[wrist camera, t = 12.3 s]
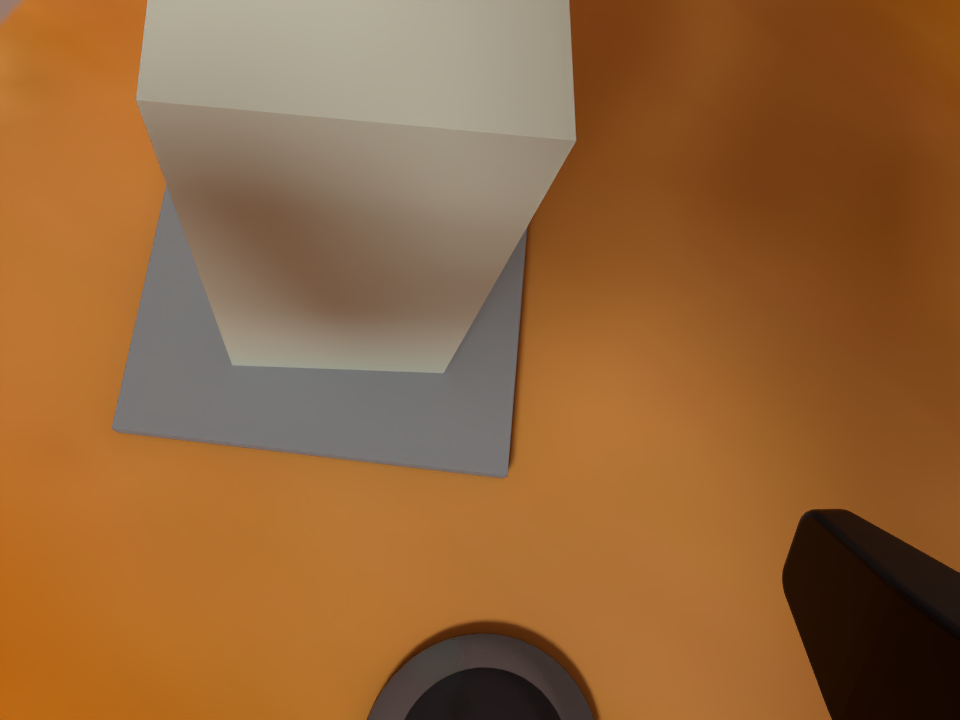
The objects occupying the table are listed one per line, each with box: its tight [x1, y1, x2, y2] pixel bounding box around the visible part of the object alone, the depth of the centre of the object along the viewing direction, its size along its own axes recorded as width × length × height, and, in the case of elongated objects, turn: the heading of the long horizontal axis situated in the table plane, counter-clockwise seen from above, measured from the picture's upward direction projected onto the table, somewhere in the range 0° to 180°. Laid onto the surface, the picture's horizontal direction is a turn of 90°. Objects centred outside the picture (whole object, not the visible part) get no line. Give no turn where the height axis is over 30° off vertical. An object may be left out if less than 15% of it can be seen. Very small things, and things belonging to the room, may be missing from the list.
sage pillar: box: [136, 0, 576, 373], centre depth 17 cm, size 6×6×12 cm
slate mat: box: [112, 185, 527, 478], centre depth 23 cm, size 10×10×1 cm
